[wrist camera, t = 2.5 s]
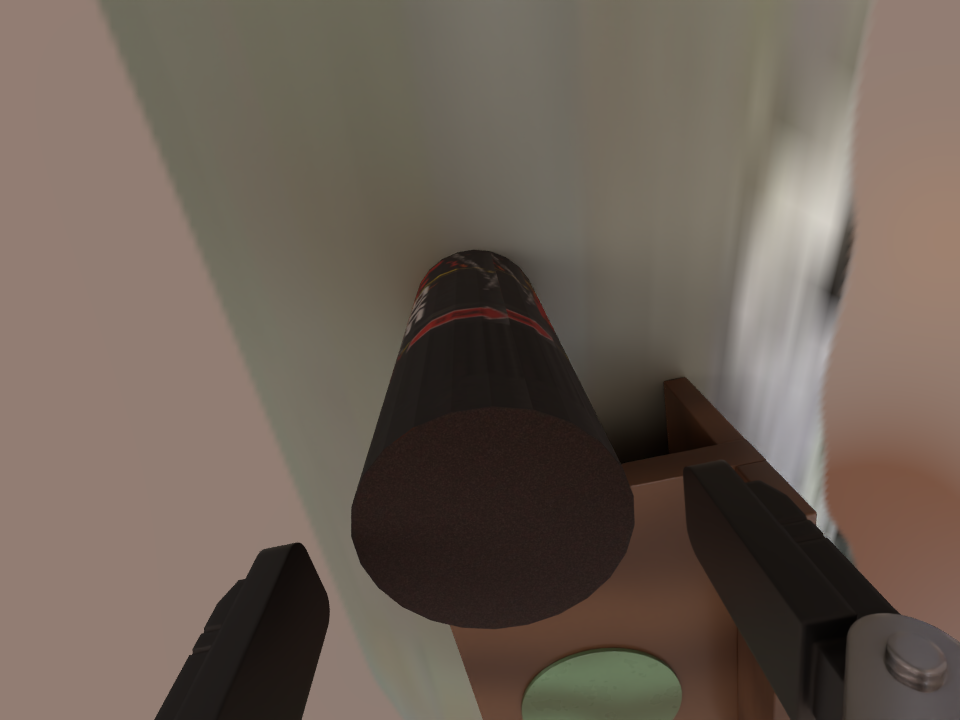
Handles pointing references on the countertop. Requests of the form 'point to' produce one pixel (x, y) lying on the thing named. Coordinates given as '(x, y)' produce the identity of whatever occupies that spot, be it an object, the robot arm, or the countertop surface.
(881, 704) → the robot arm
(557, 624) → the shelf
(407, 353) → the deodorant
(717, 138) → the countertop surface
